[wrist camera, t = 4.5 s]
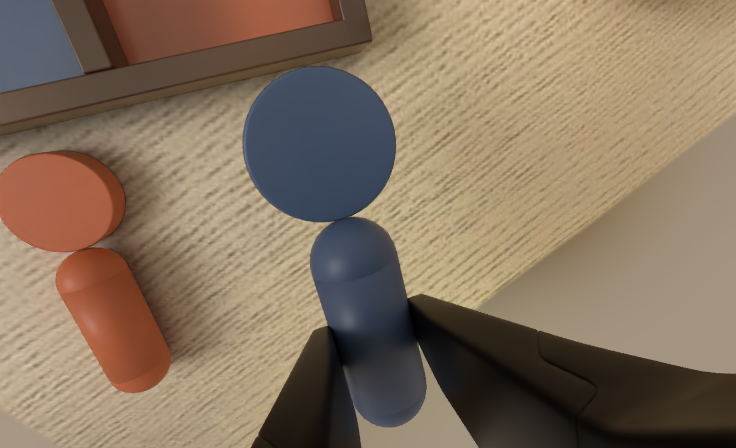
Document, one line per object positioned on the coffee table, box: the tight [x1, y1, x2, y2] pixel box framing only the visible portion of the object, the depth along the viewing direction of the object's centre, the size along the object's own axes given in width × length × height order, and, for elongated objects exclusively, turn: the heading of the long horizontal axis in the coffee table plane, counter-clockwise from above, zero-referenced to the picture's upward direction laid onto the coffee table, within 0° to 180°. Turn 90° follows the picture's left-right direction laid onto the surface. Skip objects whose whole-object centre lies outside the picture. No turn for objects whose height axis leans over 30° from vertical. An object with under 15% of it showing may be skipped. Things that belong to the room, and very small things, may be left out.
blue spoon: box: [243, 66, 426, 427], centre depth 8 cm, size 9×3×2 cm, turn 14°
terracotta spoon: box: [0, 151, 171, 393], centre depth 12 cm, size 9×3×2 cm, turn 14°
